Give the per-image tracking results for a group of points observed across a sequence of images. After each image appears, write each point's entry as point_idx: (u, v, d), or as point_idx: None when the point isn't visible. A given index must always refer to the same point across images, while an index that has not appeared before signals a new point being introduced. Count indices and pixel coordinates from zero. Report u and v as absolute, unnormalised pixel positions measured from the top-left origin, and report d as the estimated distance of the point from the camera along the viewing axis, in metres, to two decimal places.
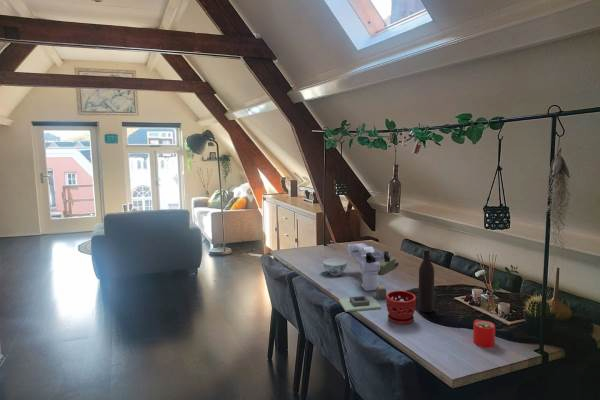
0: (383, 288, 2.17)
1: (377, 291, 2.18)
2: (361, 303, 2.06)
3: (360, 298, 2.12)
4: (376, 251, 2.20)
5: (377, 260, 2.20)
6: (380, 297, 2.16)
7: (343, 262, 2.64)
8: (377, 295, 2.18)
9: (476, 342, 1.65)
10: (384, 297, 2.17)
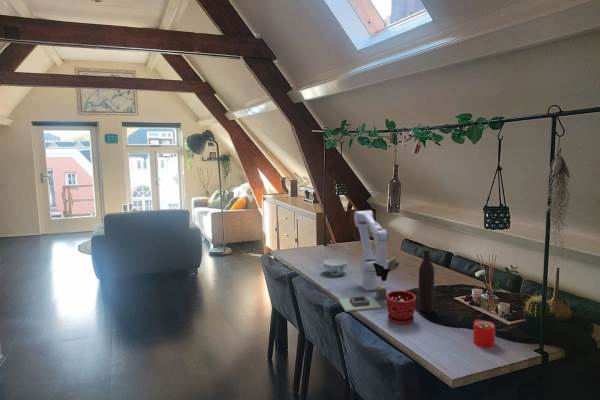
0: (383, 288, 2.17)
1: (377, 291, 2.18)
2: (361, 303, 2.06)
3: (360, 298, 2.12)
4: None
5: None
6: (380, 297, 2.16)
7: (343, 262, 2.64)
8: (377, 295, 2.18)
9: (476, 342, 1.65)
10: (384, 297, 2.17)
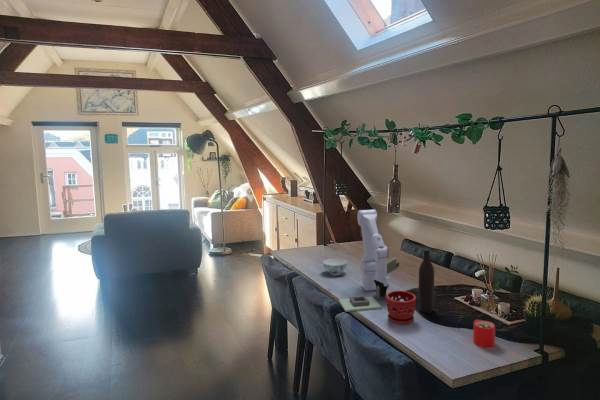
0: None
1: (377, 291, 2.18)
2: (361, 303, 2.06)
3: (360, 298, 2.12)
4: None
5: None
6: (380, 297, 2.16)
7: (343, 262, 2.64)
8: (377, 295, 2.18)
9: (476, 342, 1.65)
10: (384, 297, 2.17)
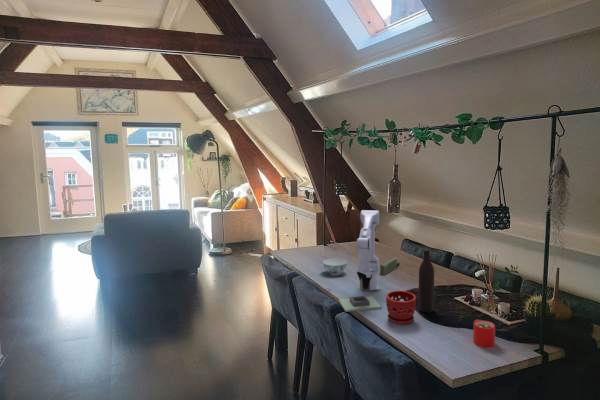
0: None
1: (360, 283, 2.10)
2: (361, 303, 2.06)
3: (360, 298, 2.12)
4: None
5: None
6: (363, 289, 2.08)
7: (343, 262, 2.64)
8: (360, 288, 2.10)
9: (476, 342, 1.65)
10: (368, 289, 2.09)
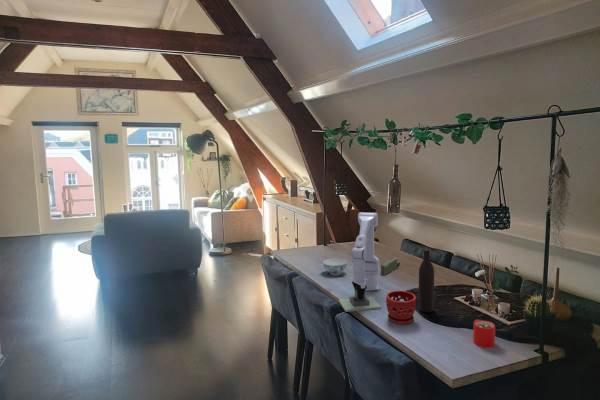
0: None
1: (355, 293, 2.09)
2: (361, 303, 2.06)
3: None
4: None
5: None
6: (358, 300, 2.07)
7: (343, 262, 2.64)
8: (355, 298, 2.09)
9: (476, 342, 1.65)
10: (362, 300, 2.08)
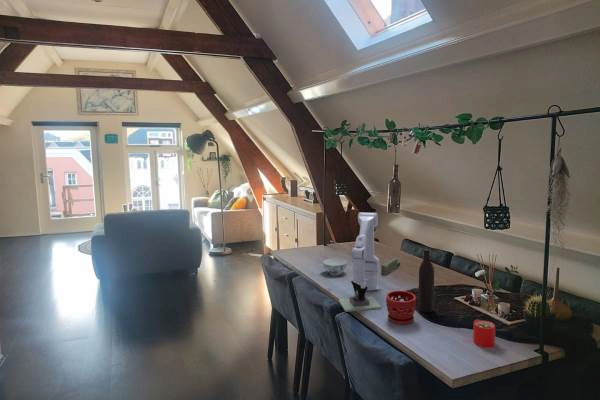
0: None
1: (355, 296, 2.09)
2: (361, 303, 2.06)
3: None
4: None
5: None
6: None
7: (343, 262, 2.64)
8: (355, 301, 2.09)
9: (476, 342, 1.65)
10: None
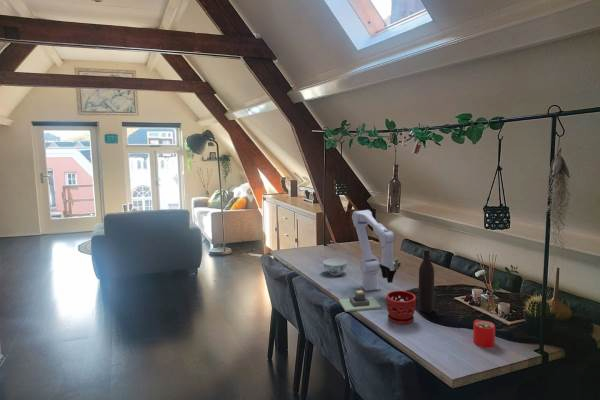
0: (361, 293, 2.08)
1: (355, 296, 2.09)
2: (361, 303, 2.06)
3: None
4: None
5: None
6: None
7: (343, 262, 2.64)
8: (355, 301, 2.09)
9: (476, 342, 1.65)
10: None
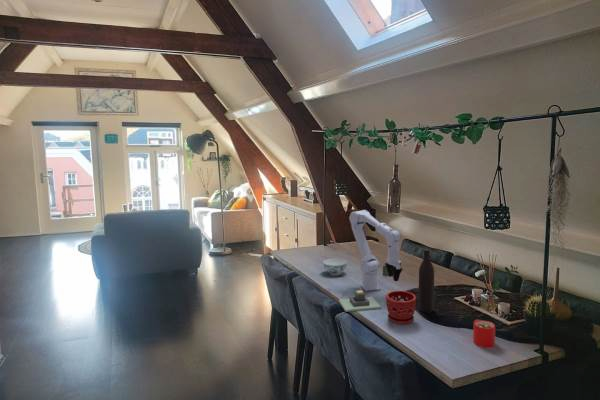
0: (361, 293, 2.08)
1: (355, 296, 2.09)
2: (361, 303, 2.06)
3: None
4: None
5: None
6: None
7: (343, 262, 2.64)
8: (355, 301, 2.09)
9: (476, 342, 1.65)
10: None
